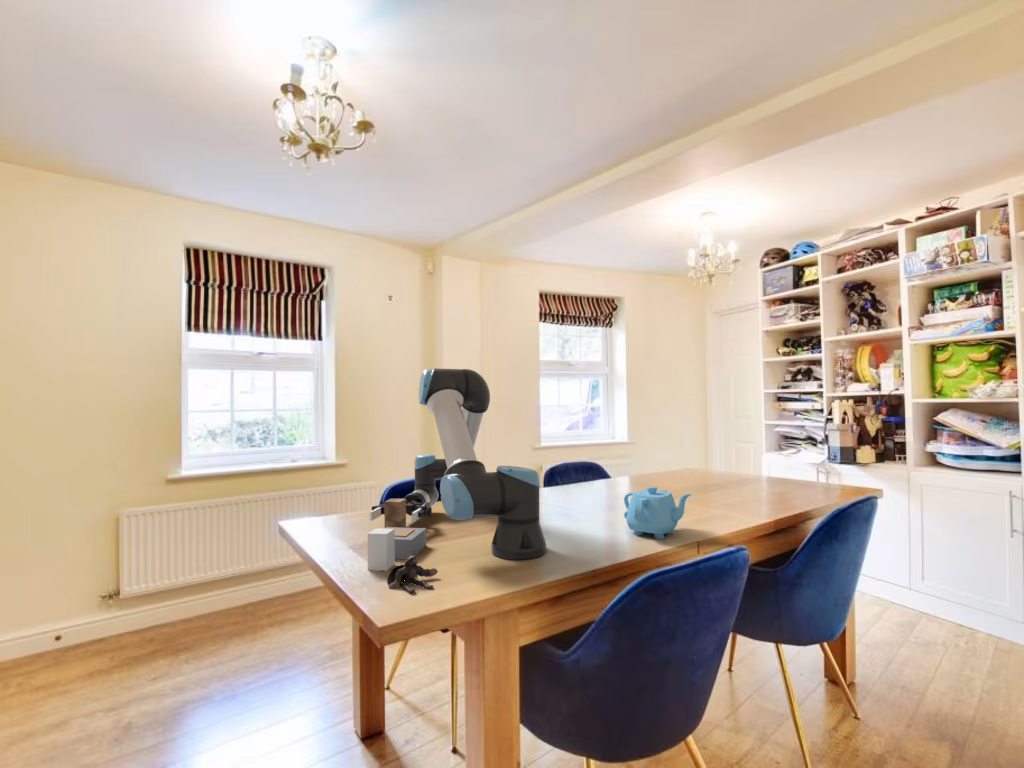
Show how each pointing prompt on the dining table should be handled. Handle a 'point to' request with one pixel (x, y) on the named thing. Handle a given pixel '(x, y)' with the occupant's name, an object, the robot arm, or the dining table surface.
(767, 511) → the dining table surface
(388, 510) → the walnut block
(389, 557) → the white block
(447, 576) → the dining table surface
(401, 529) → the base block
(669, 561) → the dining table surface
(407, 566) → the stuffed animal
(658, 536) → the teapot
